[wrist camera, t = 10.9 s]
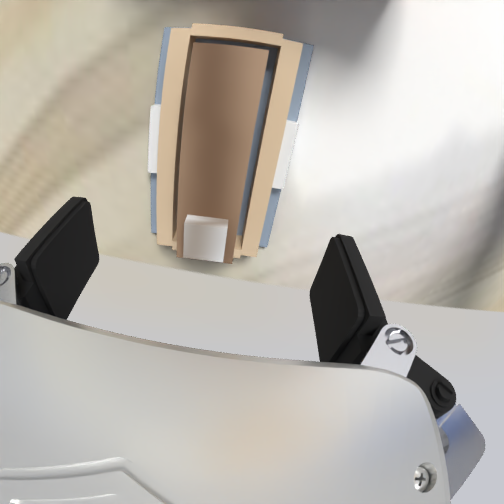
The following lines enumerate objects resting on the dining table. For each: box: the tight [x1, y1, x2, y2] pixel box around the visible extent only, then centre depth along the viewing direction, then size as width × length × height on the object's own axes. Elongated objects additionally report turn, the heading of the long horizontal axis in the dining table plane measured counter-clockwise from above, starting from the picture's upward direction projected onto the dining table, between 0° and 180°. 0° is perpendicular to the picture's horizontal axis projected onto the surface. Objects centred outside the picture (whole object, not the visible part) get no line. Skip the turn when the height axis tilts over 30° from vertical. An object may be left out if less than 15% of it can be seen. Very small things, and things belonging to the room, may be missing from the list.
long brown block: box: [177, 42, 269, 264], centre depth 20 cm, size 4×16×7 cm, turn 171°
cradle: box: [148, 23, 314, 258], centre depth 22 cm, size 12×20×3 cm, turn 170°
